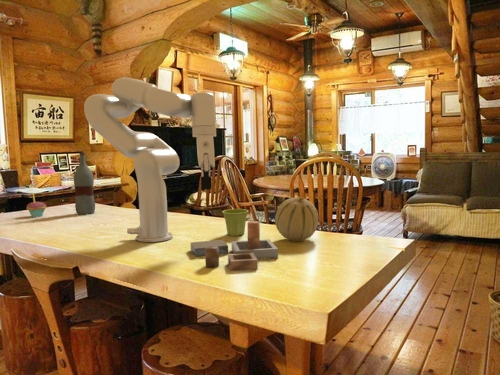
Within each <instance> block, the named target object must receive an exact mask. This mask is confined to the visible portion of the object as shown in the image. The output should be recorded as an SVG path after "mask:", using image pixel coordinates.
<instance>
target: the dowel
mask: <svg viewBox="0 0 500 375" xmlns="http://www.w3.org/2000/svg"><path fill="white" fill-rule="evenodd" d="M260 224H261V223H260V222H259V221H257V220H256V221H255V220H253V221H248V222H247V241H248V250H249V249H260V240H261V238H260V236H261V234H260V233H261V229H260V227H261V225H260Z"/></svg>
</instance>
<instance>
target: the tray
mask: <svg viewBox="0 0 500 375" xmlns="http://www.w3.org/2000/svg"><path fill="white" fill-rule="evenodd" d="M231 252H232V254H243V253H254V255H255V257H256V258H257V260H267V259H270V260H271V259H279V249H278V247H277V246H276V245H275V244H274V243H273V242H272V241H271V239H260V249H249V250H248V240H237V241H236V240H235V241H231Z"/></svg>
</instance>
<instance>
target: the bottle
mask: <svg viewBox="0 0 500 375" xmlns="http://www.w3.org/2000/svg"><path fill="white" fill-rule="evenodd" d="M78 155H79V165H78V166H77V168H76V170H75V171H74V173H73V174H74V175H73V186H74V191H75V201H74V202H75V203H74V207H75V208H74V209H75V212H76V214H77V215H78V216H85V215H87V216H88V215H93V214H95V210H96V203H95V202H96V200H95V196H94V183H95V180H94V178H95V177H94V174H93V172H92V171H91V169H90V168H89V166H88V165H87V164H86V152H79V154H78Z"/></svg>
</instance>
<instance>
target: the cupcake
mask: <svg viewBox="0 0 500 375" xmlns="http://www.w3.org/2000/svg"><path fill="white" fill-rule="evenodd" d="M32 200H33V202H30V203H28V204H27V205H26V210H28V212H29V214H30V216H31V218H39V217H43V216H44V212H45V210H46V209H47V204H45V203H44V202H42V201H36V199H35V193H32Z"/></svg>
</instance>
